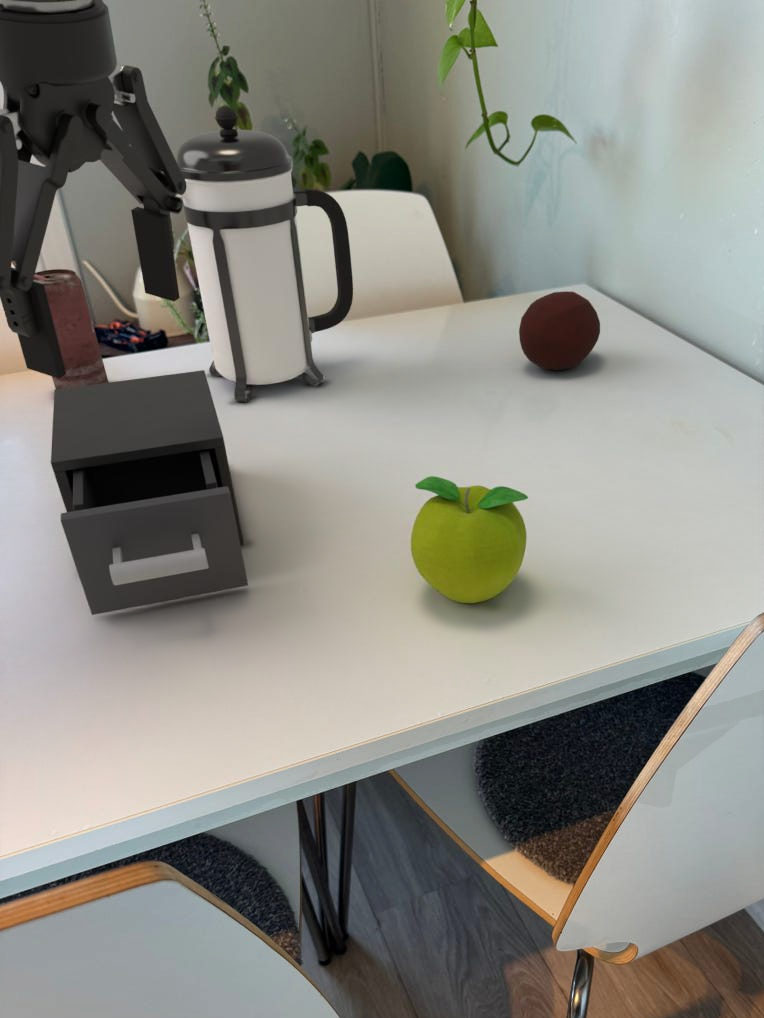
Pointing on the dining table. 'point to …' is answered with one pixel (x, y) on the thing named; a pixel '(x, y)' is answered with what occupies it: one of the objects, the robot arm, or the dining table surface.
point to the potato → (559, 330)
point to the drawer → (152, 531)
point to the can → (73, 329)
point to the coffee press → (255, 255)
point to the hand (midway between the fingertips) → (108, 331)
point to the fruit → (468, 539)
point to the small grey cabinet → (136, 426)
